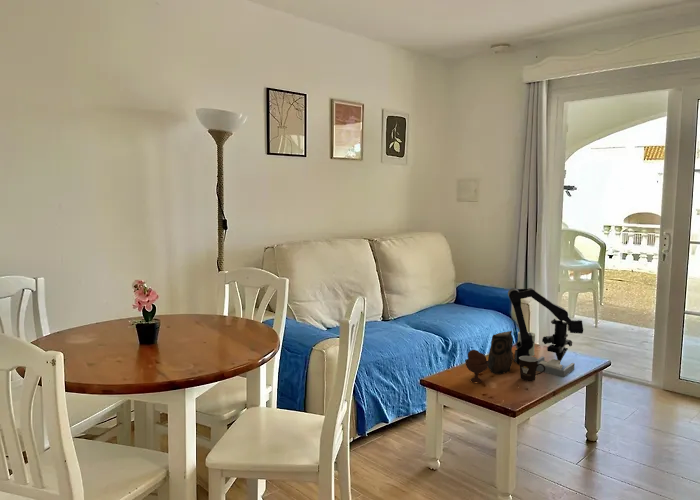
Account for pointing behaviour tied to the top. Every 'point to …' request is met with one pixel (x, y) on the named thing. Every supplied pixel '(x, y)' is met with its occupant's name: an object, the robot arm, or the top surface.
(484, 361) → the ice cream bowl
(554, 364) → the t block
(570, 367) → the bay
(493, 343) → the owl
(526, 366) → the coffee mug
